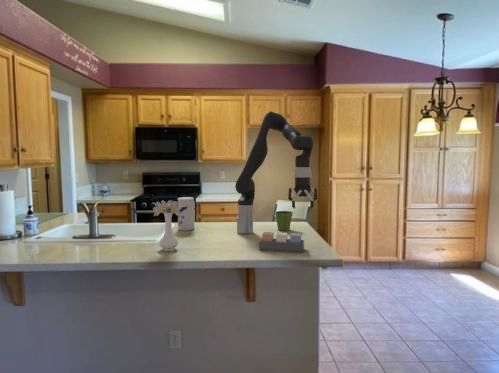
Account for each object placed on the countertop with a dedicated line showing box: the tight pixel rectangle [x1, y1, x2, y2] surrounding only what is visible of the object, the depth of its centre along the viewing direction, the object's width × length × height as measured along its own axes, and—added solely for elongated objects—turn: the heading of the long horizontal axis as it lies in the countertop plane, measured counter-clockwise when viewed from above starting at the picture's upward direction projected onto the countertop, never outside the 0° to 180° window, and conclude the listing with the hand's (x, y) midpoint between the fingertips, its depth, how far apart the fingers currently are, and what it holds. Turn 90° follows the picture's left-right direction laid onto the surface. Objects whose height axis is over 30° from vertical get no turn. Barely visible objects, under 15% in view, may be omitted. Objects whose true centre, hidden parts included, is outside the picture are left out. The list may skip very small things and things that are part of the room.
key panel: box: [258, 237, 305, 254], centre depth 181 cm, size 22×8×4 cm, turn 78°
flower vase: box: [152, 199, 182, 252], centre depth 181 cm, size 13×18×25 cm
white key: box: [275, 232, 288, 243], centre depth 181 cm, size 5×5×4 cm
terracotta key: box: [261, 231, 275, 242], centre depth 182 cm, size 5×5×4 cm
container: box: [177, 196, 195, 232], centre depth 229 cm, size 10×10×20 cm
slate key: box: [289, 232, 302, 243], centre depth 179 cm, size 5×5×4 cm
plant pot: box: [274, 210, 294, 232], centre depth 226 cm, size 12×12×11 cm
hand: (302, 208), depth 182 cm, fingers open, 8 cm apart
